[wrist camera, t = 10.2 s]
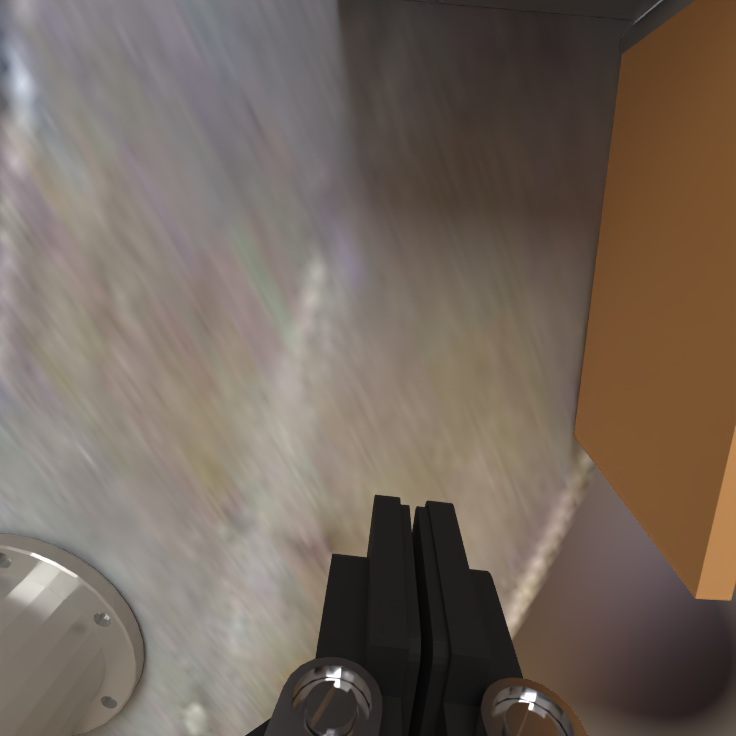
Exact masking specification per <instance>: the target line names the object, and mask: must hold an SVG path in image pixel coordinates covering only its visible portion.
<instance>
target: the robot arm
mask: <svg viewBox="0 0 736 736" xmlns="http://www.w3.org/2000/svg"><path fill="white" fill-rule="evenodd" d="M143 663H144V651H143V641H142V637H141V634H140V630H139V627H138V624H137V622H136V620H135V618H134V616H133V614H132V612H131V610H130V608H129V606H128V604H127V603H126V602H125V600H124V599H123V598H122V597H121V595H120V594H119V593H118V591H117V590H116V589H115V587H114V586H113V585H112V584H111V583H109V582H108V581H107V580H106V579H105V578H104V577H103V576H102V575H101V574H100V573H99V572H98V571H97V570H95V569H94V568H92V567H91V566H90V565H88V564H87V563H85V562H84V561H83V560H81V559H80V558H78V557H76V556H74V555H72V554H71V553H69V552H67V551H65V550H63V549H61V548H59V547H57V546H54V545H51V544H48V543H45V542H42V541H39V540H37V539H34V538H29V537H23V536H18V535H12V534H0V736H73V735H77V734H80V733H84V732H87V731H91V730H94V729H95V728H97V727H99V726H101V725H103V724H105V723H107V722H109V721H110V720H111V719H112V718H113V717H114V716H115V715H117V714H118V713H119V712H120V711H121V710H122V708H123V707H124V705H125V704H126V702H127V701H128V699H129V698H130V696H131V694H132V692H133V691H134V689H135V687H136V685H137V683H138V681H139V679H140V677H141V672H142V667H143ZM246 736H588V734H587V733H586V731H585V729H584V727H583V725H582V723H581V722H580V720H579V718H578V717H577V716H576V714H575V713H574V711H573V710H572V708H571V707H570V706H569V705H568V704H567V703H566V702H565V701H564V700H563V699H562V698H561V697H560V696H558V695H557V694H556V693H555V692H553V691H551V690H550V689H548V688H547V687H545V686H544V685H542V684H539V683H536V682H534V681H531V680H528V679H523V676H522V673H521V669H520V666H519V663H518V660H517V657H516V654H515V650H514V647H513V643H512V640H511V637H510V634H509V631H508V627H507V624H506V621H505V618H504V614H503V611H502V608H501V605H500V601H499V598H498V595H497V592H496V588H495V585H494V582H493V579H492V576H491V574H490V573H489V572H488V571H482V570H473V569H469V565H468V561H467V557H466V553H465V549H464V545H463V541H462V537H461V533H460V529H459V525H458V521H457V517H456V513H455V509H454V506H453V504H452V503H444V502H435V501H427V502H426V504H425V507H419V506H417V507H416V510H415V516H414V523H413V530H412V529H411V518H410V507H409V505H401V504H400V497H391V496H382V495H375V497H374V504H373V512H372V520H371V528H370V536H369V544H368V552H367V557H358V556H349V555H341V554H332V559H331V565H330V571H329V577H328V584H327V590H326V596H325V602H324V608H323V614H322V621H321V627H320V633H319V639H318V645H317V651H316V658H315V659H313V660H311V661H309V662H307V663H305V664H303V665H301V666H300V667H299V668H298V669H297V670H295V671H294V672H293V673H292V674H291V675H290V677H289V678H288V680H287V682H286V683H285V685H284V687H283V689H282V692H281V694H280V697H279V699H278V702H277V704H276V707H275V709H274V712H273V714H272V717H271V718H270V719H269V720H267V721H266V722H264V723H263V724H262V725H260V726H259V727H257V728H256V729H254V730H253V731H251V732H250V733H248V734H247V735H246Z"/></svg>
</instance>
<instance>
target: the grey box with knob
mask: <svg viewBox="0 0 736 736" xmlns="http://www.w3.org/2000/svg"><path fill="white" fill-rule="evenodd" d="M411 1H422V2H434V3H445V4H456V5H468V6H479V7H490V8H502V9H513V10H524V11H535V12H547V13H558V14H569V15H581V16H592V17H603V18H615V19H626V20H637V19H638V18H639V17H640V16H642V15H643V14H644V13H645V12H646V11H648V10H649V9H650V8H651V7H652V6H653V5H655V4H656V3H657V2H658V1H659V0H411Z"/></svg>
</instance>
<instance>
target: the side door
mask: <svg viewBox="0 0 736 736" xmlns="http://www.w3.org/2000/svg"><path fill="white" fill-rule="evenodd" d="M620 51H621V53H622V58H621V66H620V74H619V82H618V90H617V98H616V106H615V113H614V121H613V129H612V137H611V145H610V153H609V161H608V169H607V177H606V185H605V193H604V201H603V209H602V217H601V225H600V233H599V241H598V249H597V257H596V265H595V272H594V280H593V288H592V296H591V304H590V312H589V320H588V328H587V336H586V344H585V352H584V360H583V368H582V376H581V384H580V392H579V400H578V408H577V416H576V424H575V432H574V436H575V438H576V439H577V441H578V442H579V443H580V445H581V446H582V447H583V449H584V450H585V451H586V453H587V454H588V455H589V457H590V458H591V459H592V461H593V462H594V463H595V465H596V466H597V467H598V469H599V470H600V471H601V473H602V474H603V475H604V477H605V478H606V479H607V481H608V482H609V483H610V485H611V486H612V487H613V489H614V490H615V491H616V493H617V494H618V495H619V497H620V498H621V499H622V501H623V502H624V503H625V505H626V506H627V508H628V509H629V510H630V511H631V513H632V514H633V516H634V517H635V518H636V520H637V521H638V522H639V524H640V525H641V526H642V528H643V529H644V530H645V532H646V533H647V534H648V536H649V537H650V538H651V539H652V541H653V542H654V544H655V545H656V546H657V548H658V549H659V550H660V552H661V553H662V554H663V556H664V557H665V559H666V560H667V561H668V562H669V564H670V565H671V567H672V568H673V569H674V571H675V572H676V573H677V575H678V576H679V577H680V579H681V580H682V581H683V583H684V584H685V585H686V587H687V588H688V589H689V591H690V592H691V593H692V595H693V596H694V597H695V599H712V600H714V599H715V600H731V598H732V594H733V590H734V586H735V583H736V0H663V1H662V2H661V3H659V4H658V5H657V6H656V7H655V8H653V9H652V10H651V11H650V12H649V13H647V14H646V15H645V16H644V17H643V18H641V19H640V20H639V21H638V22H637V23H635V24H634V25H633V26H632V27H631V28H629V29H628V30H627V31H626V32H625V33H624V35H623V36H622V39H621V42H620Z"/></svg>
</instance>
